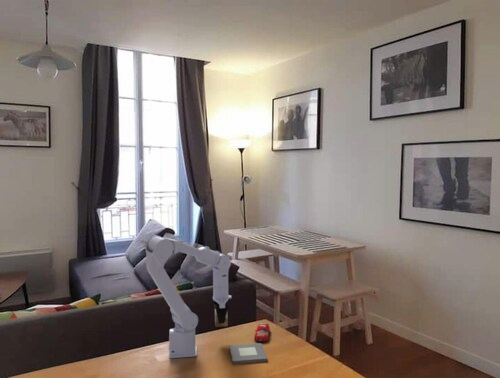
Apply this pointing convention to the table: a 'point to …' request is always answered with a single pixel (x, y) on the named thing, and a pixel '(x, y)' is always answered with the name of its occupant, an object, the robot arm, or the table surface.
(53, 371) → the table surface
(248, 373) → the table surface
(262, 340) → the race car
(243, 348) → the base plate
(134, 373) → the table surface
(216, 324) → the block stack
